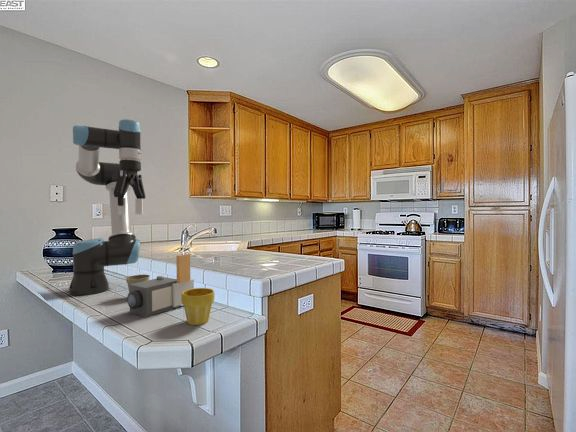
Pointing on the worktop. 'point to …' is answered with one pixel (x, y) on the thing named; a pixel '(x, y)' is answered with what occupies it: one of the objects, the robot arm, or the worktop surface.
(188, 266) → the sliding cover
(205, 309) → the plant pot
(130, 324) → the worktop surface
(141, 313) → the camera body
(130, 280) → the flower pot
